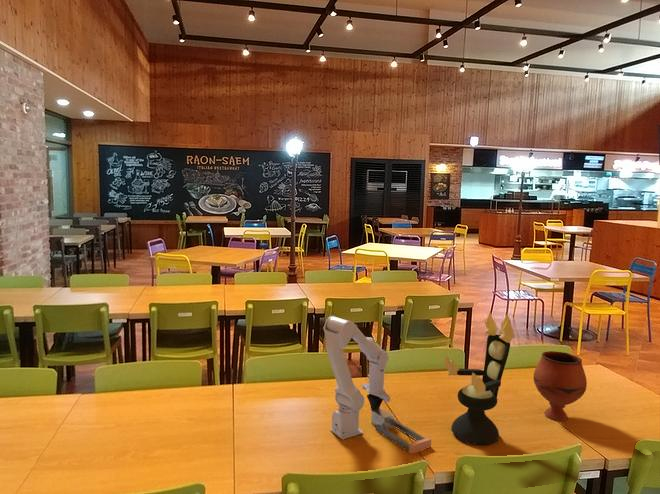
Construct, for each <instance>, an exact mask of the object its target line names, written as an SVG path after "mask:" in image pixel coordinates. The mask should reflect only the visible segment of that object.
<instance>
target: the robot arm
mask: <svg viewBox="0 0 660 494" xmlns="http://www.w3.org/2000/svg"><path fill="white" fill-rule="evenodd" d="M322 329H323V332H324V335H325V350H326V353H327V357H328V359H329V362H330V366H331V369H332V373H333V376H334V378H335V381H336V384H337V385H336V387H335V388H334V392H335V393H334V395H335V397H334V398H335V402H336V403H337V406H338V409H336V410H335V411H333V412H332V415H331V428H330V432H332V433H333V434H335V435H336V437H338V438H340V439H341V440H345V439H349V438H351V437H356V436H359V435H362V434H364V431H363V430H361V429H360V428H359V426H360V425H359V422H360V421H359V420H360V411H361V410H362V409H363V407H364V405H365V397H364V395H363V394H362V393H361V390H360V389H359V388H358V386H356V385H355V384H354V381H353V379H352V375H351V371H350V368H349V365H348V363H347V359H346V356H345V353H344V349H345V348H346V347H347V346H348V344H349V343H350V341H351V339H353V341H355V342H356V343H357V344H358V349H359V350H360V351H361V352H362V353H363V354H364V355H365V357H366V360H367V361H369V369H368V370H369V371H368V383H362V387H361V388H362V390H366V391H367V393H368V394H366V398H367V400H368V402H369V405H370V409H371V410H370V411H371V412H372V411H373V410H376V409H379V408H381V404H382V403H383V401H384V403H388V402H391V396H390V395H389V394H388V393H387V392H386V388H385V386H384V385H385V369H386V368H387V364H388V361H389V355H388V352H387V350H385V349H382V348H381V346H380V344H377V343H376V342H375V339H374V338H373V337H368V336H365V335H364V333H363V332H362V331H361V330H360V329H359V328H358V324H356V323H355V322H353V321H352V320H347V319H344V318H341V317H337V316H335V315H330V316H329V317H328V318H327V319H326V321H325V322H324V326H323V328H322Z"/></svg>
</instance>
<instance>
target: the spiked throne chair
mask: <svg viewBox="0 0 660 494" xmlns="http://www.w3.org/2000/svg"><path fill="white" fill-rule="evenodd" d="M492 315H493V314H492V313H491V312H489V313H488V315H487V317H486V319H485V322H484V325H485V330H484V333H485V334H487V335H488V336H487V338H486V345H485V357H484V363H483V364H484V366H483V369H479V368H477V369H476V368H458V366H457V364H456V363H455V362H454V360H453V359H450V357H448V356H446V355H445V356H444V357H445V358H444V368H445V369H447V373H446V375H447V376H466V377H467V376H470V377H471V382H470V383H471V384H468V385H466V386H464V387H462V388H461V389H460V390H458V392H457V395H456V396H457V400H458V402H459V403H460V404H461V405H463V406H464V407H466V408H468V409H467V410H466V412H465V413H463V414H461V415H459V416H458V417H457V418H455V420H454V421H453V422H452V424H451V427H450V430H451V432H452V434H453V435H454V436H455V437H456V436H457V437H456V438H457V439H459V440H461V441H463V442H464V441H466V443H468V442H469V443H468V444H471V443H473V444H472V445H477V444H478V446H486V445H491V444H493V443H495V442H496V441H497V440H498V439H499V437H500V434H499V433H500V432H499V429H498V428H497V425H496V424H495V423H494V422H493V421H492V420H491V419H490V418H489V417H488V416H487V415H486V411H489V410H492V409H494V408H495V407H496V406H497V404H498V393H499V389H500V387H501V385H502V377H503V374H504V371H505V367H506V364H507V360H508V358H509V353H510V348H511V342H512V340H513V339H514V338H515V334H514V329H513V328H514V327H513V325H512V321H511V318H510V317H509V314H508V313H507V314H506V315H505V317H504V318H503V320H502V321H501V323H500V330H499V329H498V326H497V324H496V321H495V320H494V318H493V316H492ZM498 330H499V333H498V334H497V332H498ZM481 376H482V377H481Z"/></svg>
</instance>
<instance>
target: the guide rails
mask: <svg viewBox="0 0 660 494" xmlns="http://www.w3.org/2000/svg"><path fill="white" fill-rule="evenodd" d="M394 426H395V427H397V428H399V429H400V430H402V431H403V432H405V433H406V434H405V433H404V434H405V435H407V434H408V435H410V436H411V437H413V438H415V439H416V440H418V441H416V440H415V441H414V442H411V443H409V442H407V441H405V440H404V439H402V438H401V437H399V436H398V435H396V434H394V433H393V432H392V431H390V429H388V430H387V429H386V428H384V427H382V426H381V425H379V424H377V425H376V426H375V431H377V430H378V431H379V432H378V431H377V432H378V433H380V432H381V433H382V434H381V433H380V434H381V435H383V434H384V435H385V436H384V435H383V436H384V437H386V436H387V437H388V438H387V437H386V438H387V439H389V438H390V439H391V440H390V439H389V440H390V441H392V440H393V441H394V442H393V441H392V442H393V443H395V442H396V443H397V444H396V443H395V444H396V445H398V444H399V445H400V446H399V445H398V446H399V447H401V446H402V447H403V448H402V447H401V448H402V449H404V448H405V449H406V450H408V451H409V452H410V453H409V452H408V451H407V452H408V453H409V454H411V453H414V454H416V453H415V452H417V451H419V452H421V451H420V450H422V449H425V448H428V447H430V446H431V447H432V438H430V437H426V438H425V437H424V436H422V435H421V434H419V433H417V432H415V431H414V430H413V429H411V428H409V427H407V426H406V425H404V424H402V423H401V422H400V421H398V420H397V419H395V418H394ZM395 427H394V428H395ZM397 428H396V429H397ZM399 429H398V430H399ZM400 430H399V431H400ZM402 431H401V432H402ZM403 432H402V433H403ZM408 435H407V436H408ZM410 436H409V437H410ZM411 437H410V438H411ZM413 438H412V439H413ZM405 449H404V450H405ZM428 449H429V448H428ZM406 450H405V451H406ZM425 450H426V449H425ZM422 451H423V450H422ZM417 453H418V452H417Z"/></svg>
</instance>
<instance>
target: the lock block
mask: <svg viewBox="0 0 660 494" xmlns="http://www.w3.org/2000/svg"><path fill="white" fill-rule="evenodd" d="M394 419H395V414H393V413H392V412H390V411H389V410H387V409H385V408H383V407H380V408H379V409H376V410H373V411H372V410H371V420H370V421H371V422H370V423H371V424H372V423H373V424H374V425H373V424H372V425H373V426H375V425H377V424H379V425H381V426H382V427H384V428H386V429H388V428H391V427H394ZM394 428H395V427H394ZM391 429H392V428H391ZM388 430H389V429H388Z"/></svg>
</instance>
